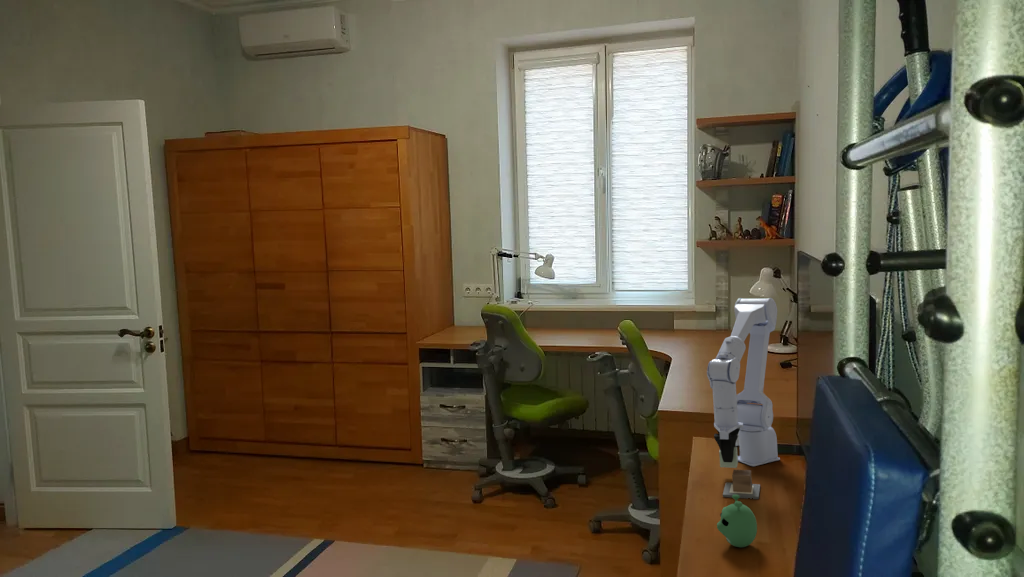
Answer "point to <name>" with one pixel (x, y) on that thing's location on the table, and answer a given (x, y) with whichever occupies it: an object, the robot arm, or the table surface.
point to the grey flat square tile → (754, 492)
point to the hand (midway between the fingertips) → (728, 458)
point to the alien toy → (738, 524)
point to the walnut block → (742, 481)
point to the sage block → (729, 464)
